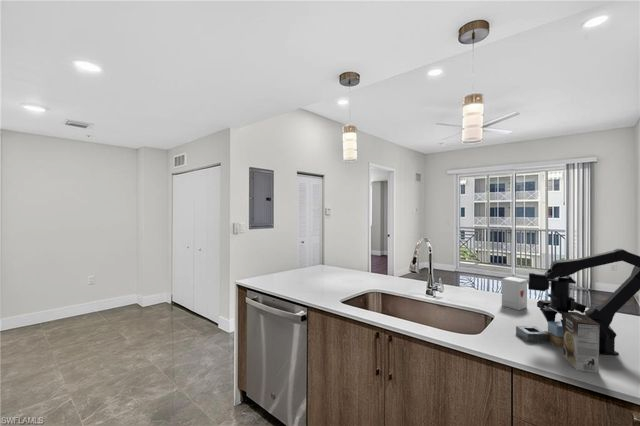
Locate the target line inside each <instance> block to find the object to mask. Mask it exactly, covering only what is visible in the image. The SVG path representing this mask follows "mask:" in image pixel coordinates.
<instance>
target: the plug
mask: <svg viewBox="0 0 640 426" xmlns="http://www.w3.org/2000/svg"><path fill="white" fill-rule="evenodd" d="M547 331H548V332H550V333H552V334H553V335H555V336H557V337H564V330H563V326H562V323H561V321H556V320H555V321H548V322H547Z"/></svg>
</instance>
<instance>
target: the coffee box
mask: <svg viewBox="0 0 640 426" xmlns="http://www.w3.org/2000/svg"><path fill="white" fill-rule="evenodd" d="M563 314H564V342H563V343H564V344H563V345H564V347H563V354H562V355H563V358H564V360H566V361H567V362H568V363H569V364H570V365H571V367H573V369H575V370H576V371H581V372H590V373H596V374H598V373H599V367H600V366H599V362H600V361H599V359H600V356H599V355H600V354H599V323H597V322H595V321H594V320H592V319H591V318H589V317H587V316H586V315H585V313H584V314H583V313H580V314H575V313H563Z"/></svg>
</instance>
